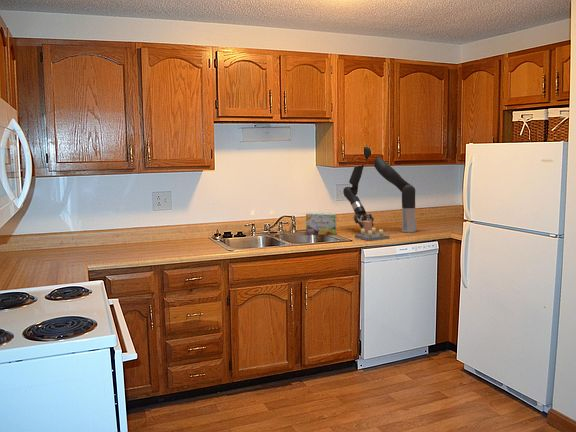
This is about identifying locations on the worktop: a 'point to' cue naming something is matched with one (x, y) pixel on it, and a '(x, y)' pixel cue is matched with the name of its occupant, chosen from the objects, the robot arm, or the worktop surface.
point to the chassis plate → (374, 237)
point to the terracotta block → (367, 225)
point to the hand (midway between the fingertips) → (367, 226)
